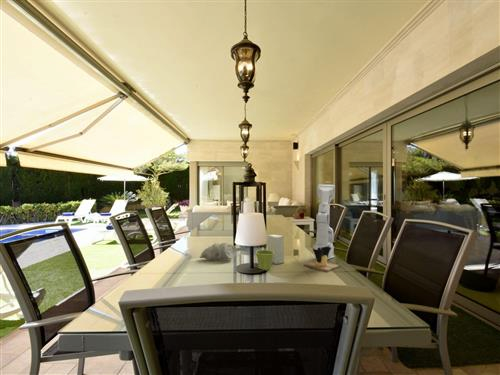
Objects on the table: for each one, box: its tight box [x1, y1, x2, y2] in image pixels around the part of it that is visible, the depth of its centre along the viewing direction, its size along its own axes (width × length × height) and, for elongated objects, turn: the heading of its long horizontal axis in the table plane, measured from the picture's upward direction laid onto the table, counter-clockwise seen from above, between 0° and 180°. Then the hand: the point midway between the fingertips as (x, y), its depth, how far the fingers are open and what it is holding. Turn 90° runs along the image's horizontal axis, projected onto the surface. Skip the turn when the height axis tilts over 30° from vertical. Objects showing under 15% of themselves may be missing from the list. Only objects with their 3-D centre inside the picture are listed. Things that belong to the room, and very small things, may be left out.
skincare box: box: [266, 234, 285, 265], centre depth 157 cm, size 8×6×15 cm
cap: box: [316, 254, 328, 266], centre depth 151 cm, size 6×6×5 cm
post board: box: [303, 259, 341, 273], centre depth 151 cm, size 13×14×4 cm
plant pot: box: [254, 249, 274, 271], centre depth 143 cm, size 9×9×9 cm
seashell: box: [199, 242, 237, 262], centre depth 157 cm, size 16×15×10 cm
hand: (321, 261), depth 151 cm, fingers closed on cap, 6 cm apart
